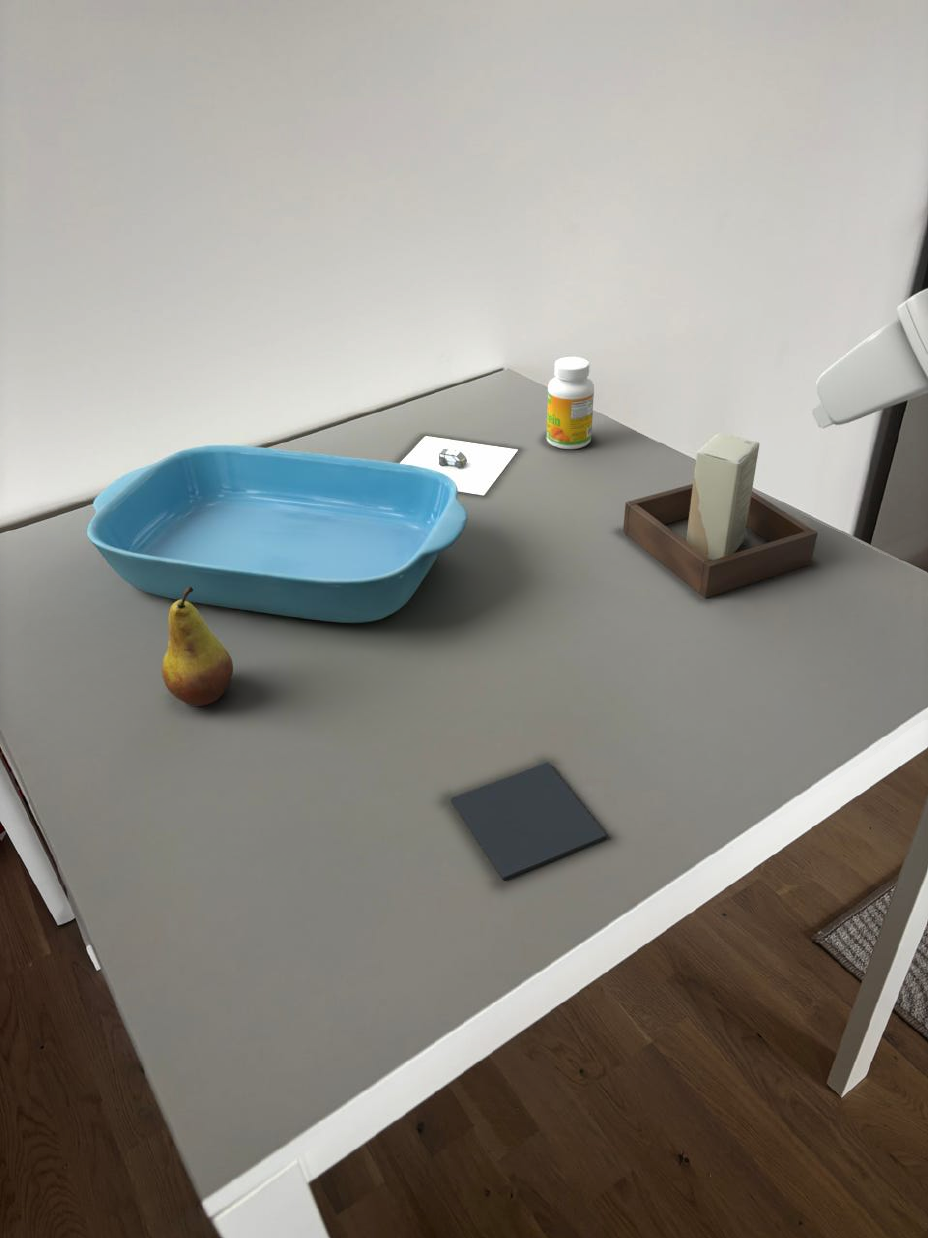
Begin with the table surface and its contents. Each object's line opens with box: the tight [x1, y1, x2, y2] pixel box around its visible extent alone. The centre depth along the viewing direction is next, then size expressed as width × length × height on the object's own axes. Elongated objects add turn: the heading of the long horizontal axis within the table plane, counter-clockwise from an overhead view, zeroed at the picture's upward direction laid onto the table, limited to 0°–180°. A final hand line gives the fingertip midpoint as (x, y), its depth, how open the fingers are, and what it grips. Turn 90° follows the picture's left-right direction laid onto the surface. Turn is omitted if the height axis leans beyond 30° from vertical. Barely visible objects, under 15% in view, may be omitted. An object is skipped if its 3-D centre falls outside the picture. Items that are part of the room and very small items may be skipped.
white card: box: [399, 435, 519, 496], centre depth 112 cm, size 12×12×2 cm
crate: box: [622, 483, 818, 599], centre depth 95 cm, size 14×13×4 cm
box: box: [685, 432, 760, 560], centre depth 93 cm, size 5×4×11 cm
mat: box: [450, 761, 608, 881], centre depth 68 cm, size 8×8×1 cm
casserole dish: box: [86, 444, 469, 624], centre depth 93 cm, size 37×22×7 cm, turn 73°
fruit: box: [161, 586, 234, 707], centre depth 76 cm, size 6×6×12 cm
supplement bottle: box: [546, 356, 595, 450], centre depth 114 cm, size 5×5×10 cm
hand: (862, 402), depth 77 cm, fingers open, 8 cm apart
